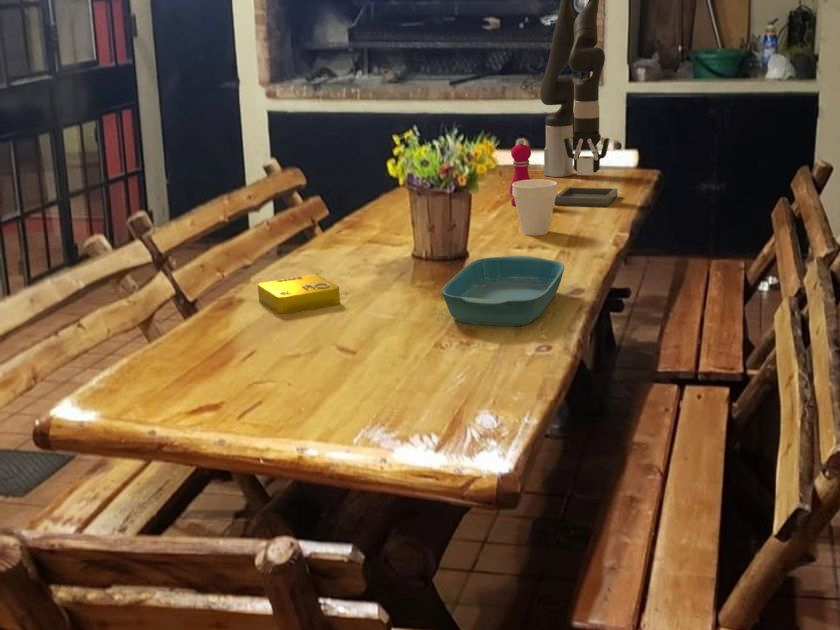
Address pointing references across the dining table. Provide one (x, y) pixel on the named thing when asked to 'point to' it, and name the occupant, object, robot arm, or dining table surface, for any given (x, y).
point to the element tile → (298, 294)
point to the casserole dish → (503, 290)
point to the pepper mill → (520, 164)
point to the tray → (586, 196)
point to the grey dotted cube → (585, 165)
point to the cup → (534, 204)
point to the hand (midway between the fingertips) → (586, 171)
